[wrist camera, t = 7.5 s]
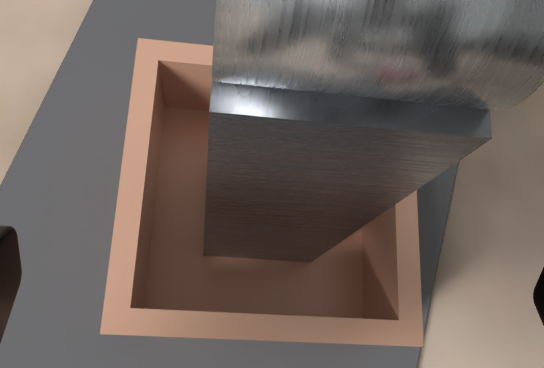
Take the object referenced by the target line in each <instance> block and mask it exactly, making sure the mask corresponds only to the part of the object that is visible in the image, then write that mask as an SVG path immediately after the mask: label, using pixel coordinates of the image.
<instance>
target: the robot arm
mask: <svg viewBox="0 0 544 368" xmlns="http://www.w3.org/2000/svg"><path fill="white" fill-rule="evenodd" d="M21 277H22V267H21V259H20V251H19V243H18V236H17V232H16V230H15V229H14V228H13V227H12V226H6V225H0V344H1V341H2V338H3V335H4V332H5V329H6V326H7V323H8V320H9V317H10V314H11V311H12V307H13V304H14V301H15V298H16V295H17V292H18V289H19V286H20V283H21ZM533 299H534V304H535V306H536V309H537V311H538V313H539V316H540V318H541V320H542V323H543V325H544V268H543V270H542V272H541V275H540V277H539V279H538V282H537V284H536V286H535V289H534V293H533Z"/></svg>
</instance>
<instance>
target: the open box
mask: <svg viewBox="0 0 544 368" xmlns="http://www.w3.org/2000/svg"><path fill="white" fill-rule="evenodd" d="M212 60H213V46H210V45H200V44H191V43H181V42H172V41H162V40H152V39H143V38H138V41H137V49H136V56H135V64H134V72H133V80H132V88H131V95H130V103H129V111H128V119H127V127H126V134H125V142H124V150H123V158H122V166H121V173H120V181H119V189H118V197H117V205H116V212H115V220H114V228H113V236H112V243H111V251H110V259H109V267H108V275H107V282H106V290H105V298H104V306H103V314H102V321H101V329H100V334H107V335H128V336H154V337H179V338H205V339H230V340H255V341H281V342H306V343H331V344H357V345H383V346H411V347H424V342H423V320H422V298H421V276H420V253H419V231H418V209H417V190H416V191H414V192H413V193H411V194H410V195H409V196H407V197H406V198H404V199H403V200H401V201H400V202H398V203H397V204H395V205H394V206H392V207H391V208H390V209H388V210H387V211H385V212H384V213H382V214H381V215H379V216H378V217H376V218H375V219H374V220H372V221H371V222H369V223H368V224H366V225H365V226H363V227H362V228H360V229H359V230H358V231H356V232H355V233H353V234H352V235H350V236H349V237H347V238H346V239H344V240H343V241H342V242H340V243H339V244H337V245H336V246H334V247H333V248H331V249H330V250H328V251H327V252H325V253H324V254H323V255H321V256H320V257H318V258H317V259H315V260H314V261H312V262H295V261H280V260H264V259H248V258H232V257H216V256H203V246H204V224H205V201H206V179H207V157H208V134H209V112H210V100H211V88H212Z"/></svg>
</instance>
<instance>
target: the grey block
mask: <svg viewBox="0 0 544 368" xmlns="http://www.w3.org/2000/svg"><path fill="white" fill-rule="evenodd" d="M543 82H544V0H216V11H215V26H214V42H213V60H212V88H211V100H210V112H209V134H208V157H207V179H206V201H205V224H204V246H203V256H216V257H232V258H248V259H264V260H280V261H295V262H312V261H314V260H315V259H317V258H318V257H320V256H321V255H323V254H324V253H325V252H327V251H328V250H330V249H331V248H333V247H334V246H336V245H337V244H339V243H340V242H342V241H343V240H344V239H346V238H347V237H349V236H350V235H352V234H353V233H355V232H356V231H358V230H359V229H360V228H362V227H363V226H365V225H366V224H368V223H369V222H371V221H372V220H374V219H375V218H376V217H378V216H379V215H381V214H382V213H384V212H385V211H387V210H388V209H390V208H391V207H392V206H394V205H395V204H397V203H398V202H400V201H401V200H403V199H404V198H406V197H407V196H409V195H410V194H411V193H413V192H414V191H416V190H417V189H419V188H420V187H422V186H423V185H425V184H426V183H427V182H429V181H430V180H432V179H433V178H435V177H436V176H438V175H439V174H441V173H442V172H443V171H445V170H446V169H448V168H449V167H451V166H452V165H454V164H455V163H457V162H458V161H459V160H461V159H462V158H464V157H465V156H467V155H468V154H470V153H471V152H473V151H474V150H476V149H477V148H478V147H480V146H481V145H483V144H484V143H486V142H487V141H489V140H490V139H492V137H491V125H490V113H489V110H503V109H507V108H510V107H512V106H515V105H517V104H518V103H520V102H522V101H523V100H525V99H526V98H527V97H528V96H530V95H531V94H532V93H533V92H534V91H535V90H536V89H537V88H538V87H539V86H540V85H541V84H542V83H543Z"/></svg>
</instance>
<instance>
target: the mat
mask: <svg viewBox="0 0 544 368" xmlns="http://www.w3.org/2000/svg"><path fill="white" fill-rule="evenodd" d="M215 11H216V0H93V2H92V4H91V6H90V8H89V10H88V12H87V14H86V16H85V18H84V20H83V22H82V24H81V26H80V28H79V30H78V32H77V34H76V36H75V38H74V40H73V42H72V44H71V46H70V48H69V50H68V52H67V54H66V56H65V58H64V60H63V62H62V64H61V66H60V68H59V70H58V72H57V74H56V76H55V78H54V80H53V82H52V84H51V86H50V88H49V90H48V92H47V94H46V96H45V98H44V100H43V102H42V104H41V106H40V107H39V109H38V111H37V113H36V115H35V117H34V119H33V121H32V123H31V125H30V127H29V129H28V131H27V133H26V135H25V137H24V139H23V141H22V143H21V145H20V147H19V149H18V151H17V153H16V155H15V157H14V159H13V161H12V163H11V165H10V167H9V169H8V171H7V173H6V175H5V177H4V179H3V181H2V183H1V185H0V225H6V226H12V227H13V228H14V229H15V230H16V232H17V236H18V243H19V251H20V259H21V267H22V277H21V283H20V286H19V289H18V292H17V295H16V298H15V301H14V304H13V307H12V311H11V314H10V317H9V320H8V323H7V326H6V329H5V332H4V335H3V338H2V341H1V344H0V368H417V364H418V359H419V354H420V349H421V347H411V346H383V345H357V344H331V343H306V342H281V341H255V340H230V339H205V338H179V337H154V336H128V335H107V334H100V329H101V321H102V314H103V306H104V298H105V290H106V282H107V275H108V267H109V259H110V251H111V243H112V236H113V228H114V220H115V212H116V205H117V197H118V189H119V181H120V173H121V166H122V158H123V150H124V142H125V134H126V127H127V119H128V111H129V103H130V95H131V88H132V80H133V72H134V64H135V56H136V49H137V41H138V38H143V39H152V40H162V41H172V42H181V43H191V44H200V45H210V46H213V42H214V26H215ZM458 162H459V161H458ZM458 162H457V163H455V164H454V165H452V166H451V167H449V168H448V169H446V170H445V171H443V172H442V173H441V174H439V175H438V176H436V177H435V178H433V179H432V180H430V181H429V182H427V183H426V184H425V185H423V186H422V187H420V188H419V189H417V209H418V231H419V253H420V276H421V298H422V320H423V334H424V329H425V324H426V319H427V314H428V309H429V305H430V300H431V295H432V290H433V285H434V280H435V275H436V270H437V265H438V260H439V255H440V251H441V246H442V241H443V236H444V231H445V226H446V221H447V216H448V211H449V206H450V201H451V196H452V192H453V187H454V182H455V177H456V172H457V167H458Z"/></svg>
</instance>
